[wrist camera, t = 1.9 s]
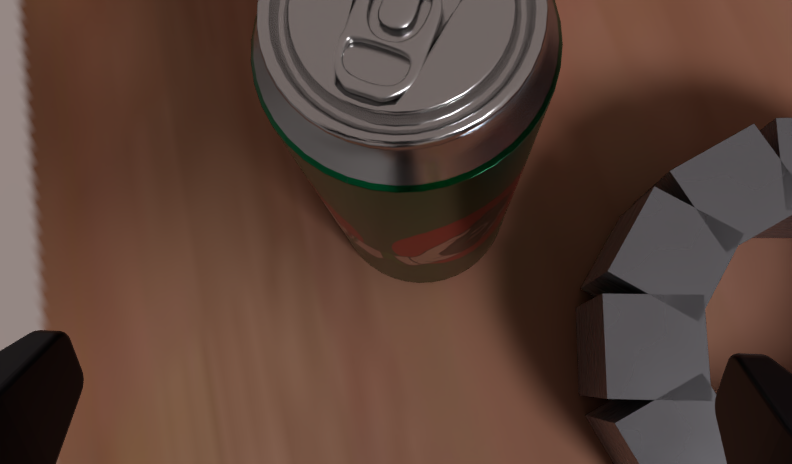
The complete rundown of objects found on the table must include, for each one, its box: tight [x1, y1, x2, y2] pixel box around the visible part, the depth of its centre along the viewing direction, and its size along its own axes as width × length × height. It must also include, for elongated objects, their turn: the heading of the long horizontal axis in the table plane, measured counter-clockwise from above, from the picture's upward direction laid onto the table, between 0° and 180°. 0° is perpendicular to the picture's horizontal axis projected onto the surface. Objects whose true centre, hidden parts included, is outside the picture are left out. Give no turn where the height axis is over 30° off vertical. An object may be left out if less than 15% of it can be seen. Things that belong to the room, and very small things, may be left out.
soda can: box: [251, 0, 563, 283], centre depth 16 cm, size 5×5×12 cm
